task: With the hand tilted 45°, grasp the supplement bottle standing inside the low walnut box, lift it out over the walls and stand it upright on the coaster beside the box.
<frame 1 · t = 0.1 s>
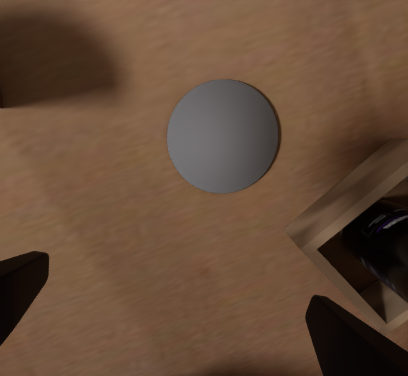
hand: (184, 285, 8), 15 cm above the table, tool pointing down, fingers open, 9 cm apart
supplement bottle: (369, 228, 24), resting in walnut box
walnut box: (371, 229, 24), on the table
coaster: (222, 139, 21), on the table
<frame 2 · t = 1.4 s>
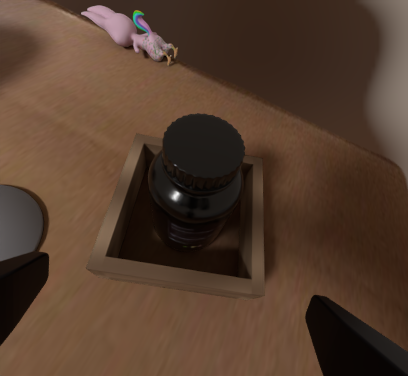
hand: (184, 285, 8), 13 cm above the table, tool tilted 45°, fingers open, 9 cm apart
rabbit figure: (131, 48, 37), on the table
supplement bottle: (186, 221, 23), resting in walnut box
walnut box: (186, 220, 23), on the table
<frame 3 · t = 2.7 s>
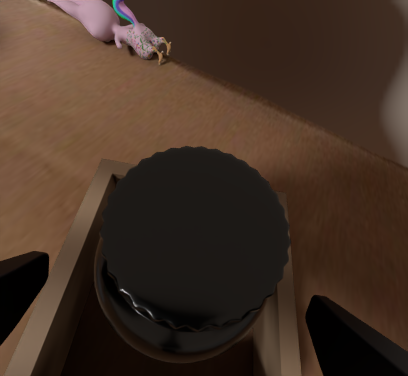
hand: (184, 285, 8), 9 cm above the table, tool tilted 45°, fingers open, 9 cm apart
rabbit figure: (113, 43, 30), on the table
supplement bottle: (176, 284, 16), resting in walnut box
walnut box: (176, 284, 16), on the table
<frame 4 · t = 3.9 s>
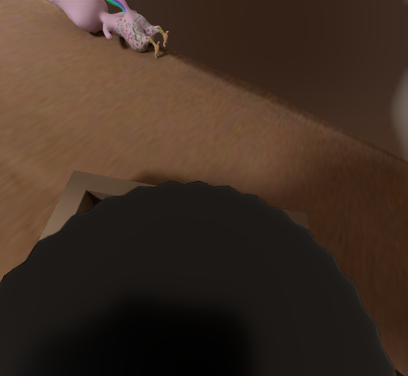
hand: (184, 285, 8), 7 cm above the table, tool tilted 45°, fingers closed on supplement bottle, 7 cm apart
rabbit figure: (102, 34, 26), on the table
supplement bottle: (169, 328, 13), resting in walnut box, touching gripper
walnut box: (170, 328, 13), on the table
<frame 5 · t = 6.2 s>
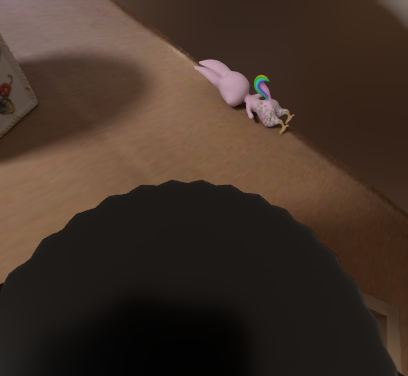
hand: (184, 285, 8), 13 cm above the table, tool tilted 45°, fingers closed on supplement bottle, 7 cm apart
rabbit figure: (238, 106, 33), on the table
supplement bottle: (170, 327, 13), point 6 cm above the table, touching gripper
walnut box: (280, 357, 18), on the table
when the fingers open (8 cm above the table, at t = 8.4 s): supplement bottle stays where it is, resting on coaster.
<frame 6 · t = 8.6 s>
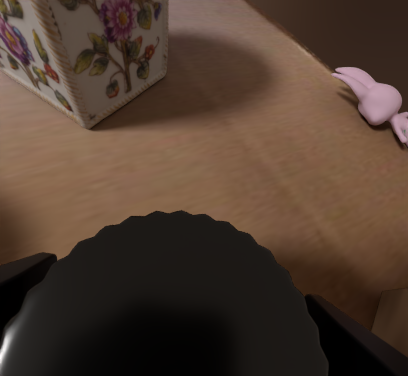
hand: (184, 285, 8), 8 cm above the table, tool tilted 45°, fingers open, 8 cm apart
decorative jar: (92, 76, 24), on the table
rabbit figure: (373, 125, 28), on the table
supplement bottle: (165, 330, 14), resting on coaster
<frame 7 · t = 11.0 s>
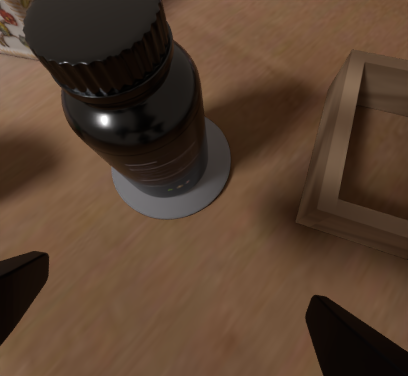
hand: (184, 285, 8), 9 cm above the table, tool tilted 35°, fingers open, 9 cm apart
decorative jar: (43, 24, 27), on the table
supplement bottle: (168, 162, 19), resting on coaster
walnut box: (398, 172, 18), on the table
coaster: (171, 161, 19), on the table
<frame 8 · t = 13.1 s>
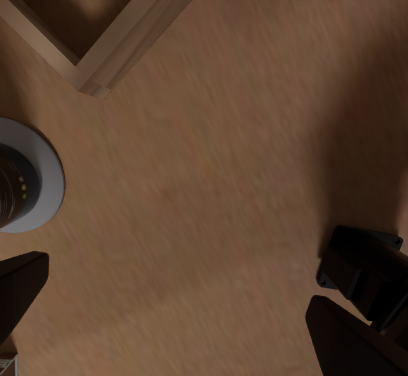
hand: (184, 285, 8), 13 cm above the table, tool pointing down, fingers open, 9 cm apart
supplement bottle: (5, 181, 19), resting on coaster
coaster: (5, 177, 20), on the table
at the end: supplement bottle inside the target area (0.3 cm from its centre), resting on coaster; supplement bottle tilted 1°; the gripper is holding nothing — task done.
